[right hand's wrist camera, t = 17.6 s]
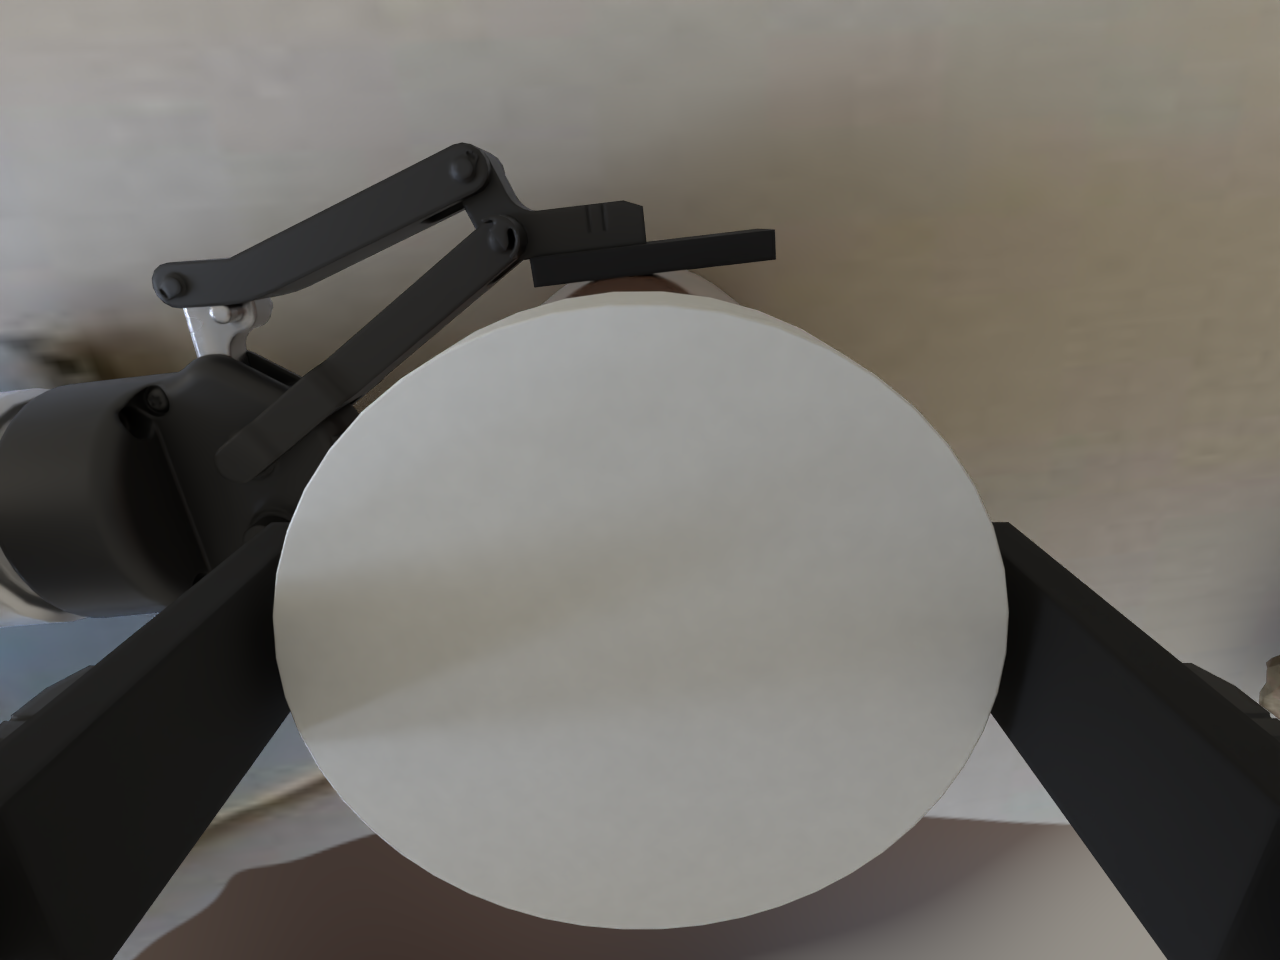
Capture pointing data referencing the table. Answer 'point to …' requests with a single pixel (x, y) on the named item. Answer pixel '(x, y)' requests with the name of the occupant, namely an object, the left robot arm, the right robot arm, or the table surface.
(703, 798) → the lid
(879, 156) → the table surface
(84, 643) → the table surface
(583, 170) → the table surface
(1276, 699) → the stone
